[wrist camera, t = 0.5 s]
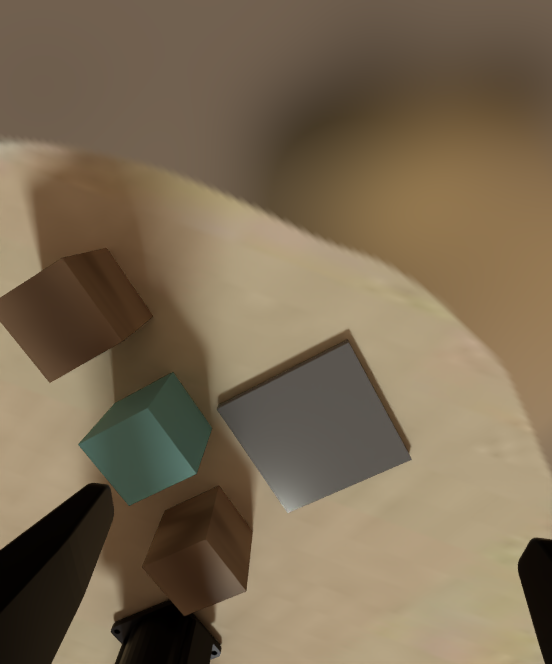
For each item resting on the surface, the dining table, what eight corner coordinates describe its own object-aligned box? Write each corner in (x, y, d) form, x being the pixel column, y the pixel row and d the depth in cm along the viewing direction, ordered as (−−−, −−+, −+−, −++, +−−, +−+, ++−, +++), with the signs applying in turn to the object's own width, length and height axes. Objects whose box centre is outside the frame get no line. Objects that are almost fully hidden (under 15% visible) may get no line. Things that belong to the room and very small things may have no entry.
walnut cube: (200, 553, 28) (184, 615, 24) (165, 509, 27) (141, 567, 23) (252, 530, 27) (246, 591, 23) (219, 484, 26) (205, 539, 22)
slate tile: (287, 507, 26) (287, 513, 26) (218, 405, 24) (216, 409, 23) (409, 454, 25) (411, 459, 24) (347, 339, 22) (348, 342, 22)
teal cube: (155, 455, 25) (128, 505, 21) (115, 402, 24) (78, 444, 20) (212, 427, 25) (196, 474, 20) (173, 371, 23) (147, 407, 19)
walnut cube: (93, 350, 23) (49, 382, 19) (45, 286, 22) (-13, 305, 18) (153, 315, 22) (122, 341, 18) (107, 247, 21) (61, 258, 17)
